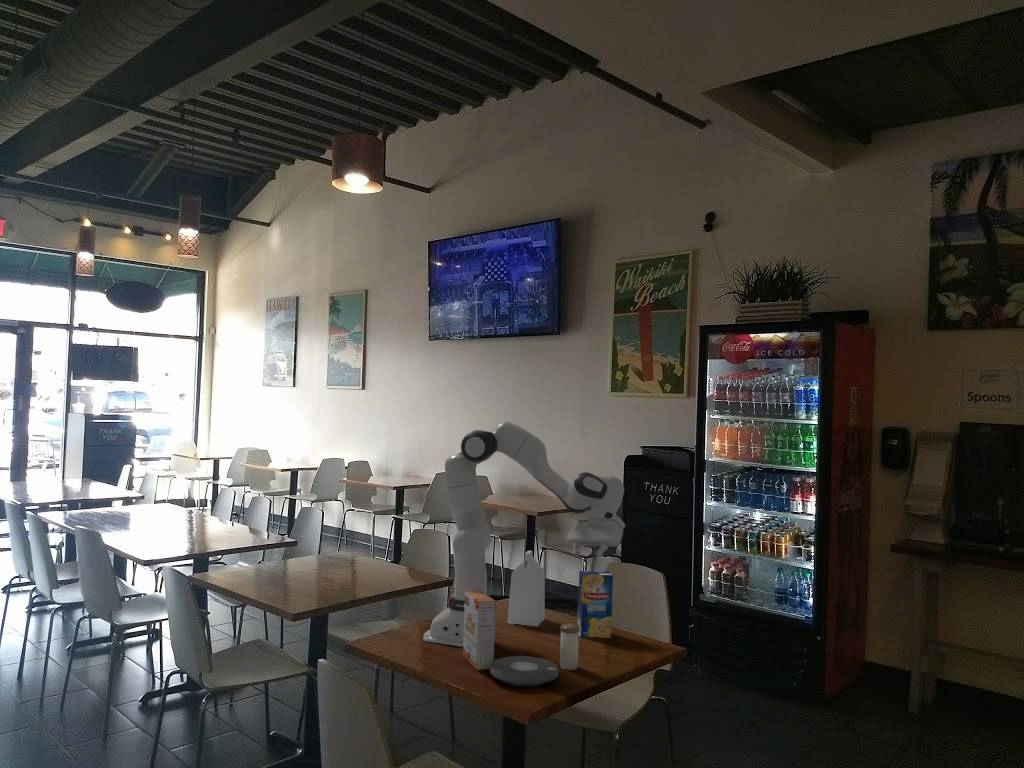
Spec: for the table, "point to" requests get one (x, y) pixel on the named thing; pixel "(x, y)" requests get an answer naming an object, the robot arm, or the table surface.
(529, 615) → the milk
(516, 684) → the lazy susan base
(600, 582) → the blue cardboard box
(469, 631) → the cracker box
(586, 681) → the table surface
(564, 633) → the jar
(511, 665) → the lazy susan
